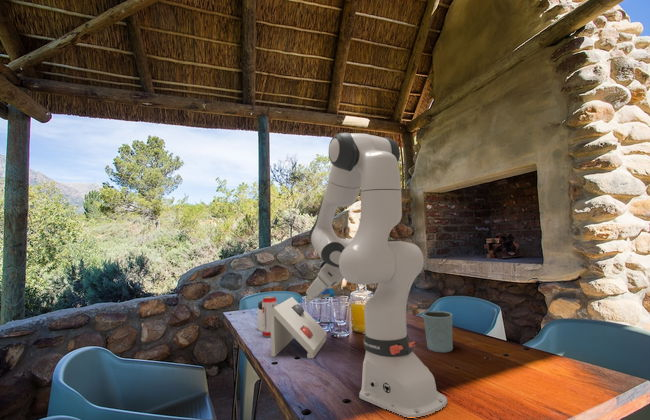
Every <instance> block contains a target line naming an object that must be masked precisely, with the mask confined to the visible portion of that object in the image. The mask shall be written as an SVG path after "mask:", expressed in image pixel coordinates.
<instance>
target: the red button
mask: <svg viewBox="0 0 650 420" xmlns="http://www.w3.org/2000/svg"><path fill="white" fill-rule="evenodd" d="M300 330H301V331H302V332H303V333H304V334H305V335H306V336H307V337H308V338H310V336H311V335H312V332H311V330H310V329H309V328H308V327H306V326H304V327H303V328H302V329H300Z"/></svg>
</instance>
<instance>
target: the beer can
mask: <svg viewBox="0 0 650 420" xmlns="http://www.w3.org/2000/svg"><path fill="white" fill-rule="evenodd" d="M277 305H278V301H277V298H276V296H275V295H267V296H264V297H263V298H262V320H263V332H262V335H263V336H264V337H265V338H271V323H270V311H271V310H272V309H273V308H274V307H275V306H277Z"/></svg>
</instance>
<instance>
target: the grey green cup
mask: <svg viewBox="0 0 650 420" xmlns="http://www.w3.org/2000/svg"><path fill="white" fill-rule="evenodd" d="M422 318H423V323H424V332H425V339H426V346H427V350H430V351H432V352H435V353H449V352H452V351H453V349H454V346H453V345H454V343H453V313H451V312H449V311H442V310H441V311H440V310H434V311H433V310H429V311H424V312H423V313H422Z"/></svg>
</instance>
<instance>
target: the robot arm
mask: <svg viewBox="0 0 650 420" xmlns="http://www.w3.org/2000/svg"><path fill="white" fill-rule="evenodd" d="M400 157H401V152H400V146H399V144H398V142H397V141H395V140H394V139H392V138H390V137H386V136H384V137H382V136H377V135H374V134H373V135H371V134H369V133H360V132H359V133H358V132H357V133H355V132H354V133H349V132H340V133H336V134H335V135H333V136H332V139H331V140H330V142H329V146H328V158H329V159H328V160H329V161H330V163H331V168H330V171H329V174H328V180H327V185H326V189H325V192H324V193H323V196H322V199H321V202H320V205H319V210H318V212H317V215H316V219H315V222H314V224H313V226H312V227H310V228H311V229H310V230H309V233H308V236H307V237H308V241H309V244H311V246H312V248H314V251H316V253H317V255H318V256H319V257H320V259H321V260H322V262H324V263H325V264H324V265H323V266H322V267H321V268H320V269H319V271H318V272H317V277H316V278H315V279H314V280H313V281H312V283H311V284H310V286H309V287H308V288H307V289H306V292H305V294H306V297H305V298H304V301H306V302H307V303H310V302H311V301H312V300H314V299H315V298H316V297H319V294H320V293H322V292H323V291H324V290H326V289H327V288H328V287H332V288H333V287H334V286H335V287H337V286H339V284H341V282H342V281H343V280H345V281H346V282H348V283H350V284H355V285H364V286H365V285H367V286H368V285H374V284H377V286H376V289H375V292H374V293H373V294H372V296H370V297H369V298H368V300H367V301H366V302H365V305H364V308H363V311H364V330H365V331H364V333H363V348H364V350H365V355H364V359H363V361H362V372H361V373H362V375H361V376H362V378H361V379H362V380H361V387H360V388H361V389H360V391H359V395H358V397H359V399H360V400H363V401H365V402H368V403H371V404H372V405H374V406H377V407H380V408H381V409H384V410H386V409H387V411H388V410H389V411H388V412H390V411H392V412H391V413H393V412H395V413H397V414H399V415H398V416H400V415H402V416H405V417H408V418H409V417H418V416H419V417H420V416H425V415H427V414H430V413H433V412H435V411H438V410H440V409H441V410H443V409H444V408H445V407H446V406H447V405H446V404H448V397H447V396H446V395H444V394H442V393H440V392H439V391H438V390H437V385H436V379H435V377H434V375H433V373H432V372H431V371H430V370H429V368H428V367H427V366H426V365H425V364H424V363H423V362H422V360H421V359H420V358H419V357H418V356H417V355H416V353H414V348H413V347H416V344H415V343H416V341H411V339H410V336H409V334H408V333H407V332H408V331H407V329H408V328H407V305H408V304H407V303H408V298H409V294H410V291H411V287H412V285H413V283H414V281H415V280H416V278H417V276H419V274H421V272H422V270H423V268H424V262H425V259H424V254H423V251H422V250H421V249H420V247H419V246H418V245H416V244H415V243H412V242H407V241H401V240H392V241H389V237H390V234H391V231H393V228H394V227H396V226H397V225H399V223H401V220H402V217H403V205H402V204H403V203H402V182H401V174H400V167H399V161H400ZM359 194H360V219H359V224H358V228H357V231H356V232H355V235H354V237H351V238H341V237H339V236H338V235H337V234H336V233H335V230H334V228H333V222H334V219H335V216H336V212H337V210H338V208H346V207H349V206H352V205H353V204H355V202H356V201H357V199H358V197H359ZM443 407H444V408H443ZM442 408H443V409H442ZM441 410H440V411H441ZM438 412H439V411H438ZM395 413H394V414H395ZM397 414H396V415H397ZM402 416H401V417H402ZM425 417H426V416H425Z"/></svg>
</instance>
